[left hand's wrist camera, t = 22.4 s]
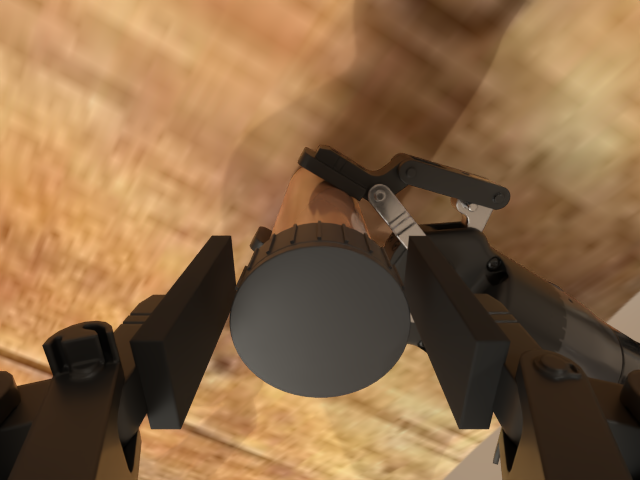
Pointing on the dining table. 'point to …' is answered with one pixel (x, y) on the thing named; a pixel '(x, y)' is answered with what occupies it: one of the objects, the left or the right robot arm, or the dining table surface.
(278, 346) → the lid
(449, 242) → the right robot arm
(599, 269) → the dining table surface
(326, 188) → the wooden cylinder
